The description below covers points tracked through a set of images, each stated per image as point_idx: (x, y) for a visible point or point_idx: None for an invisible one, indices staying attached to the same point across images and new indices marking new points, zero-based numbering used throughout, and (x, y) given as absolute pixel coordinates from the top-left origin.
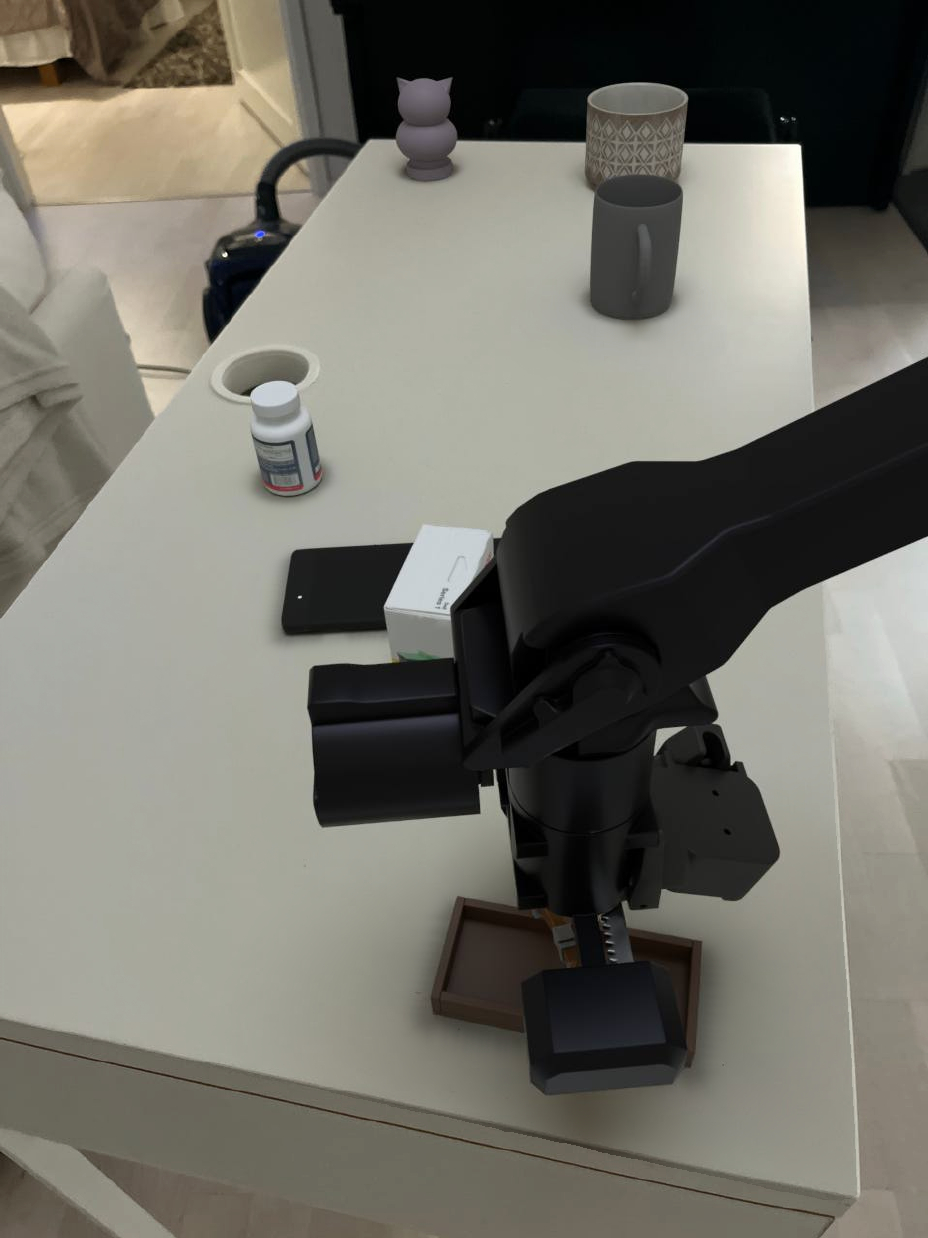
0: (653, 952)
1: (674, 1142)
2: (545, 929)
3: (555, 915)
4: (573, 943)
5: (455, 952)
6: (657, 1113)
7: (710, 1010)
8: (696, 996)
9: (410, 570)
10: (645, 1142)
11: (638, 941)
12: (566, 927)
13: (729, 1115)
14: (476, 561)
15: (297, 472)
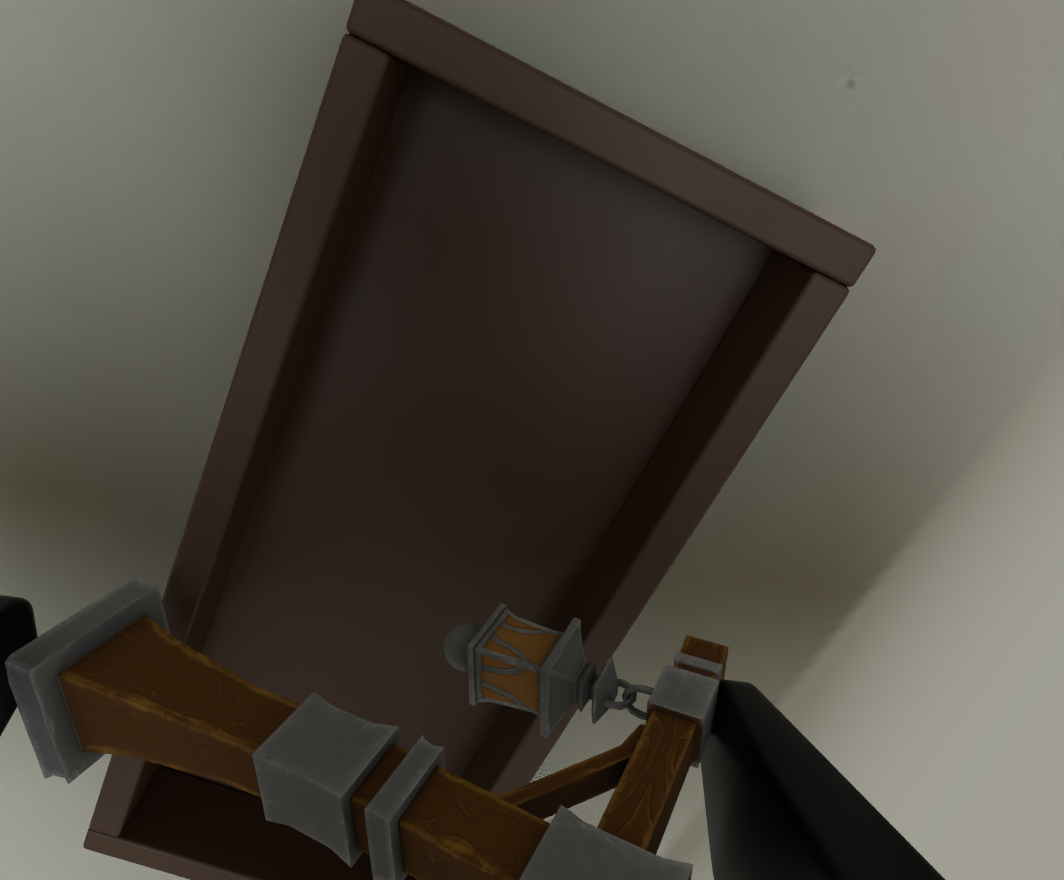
0: (354, 218)
1: (1007, 364)
2: (218, 587)
3: (194, 755)
4: (382, 835)
5: None
6: (903, 386)
7: (631, 42)
8: (645, 140)
9: None
10: (963, 449)
11: (312, 297)
12: (272, 779)
13: (1025, 138)
14: None
15: None
